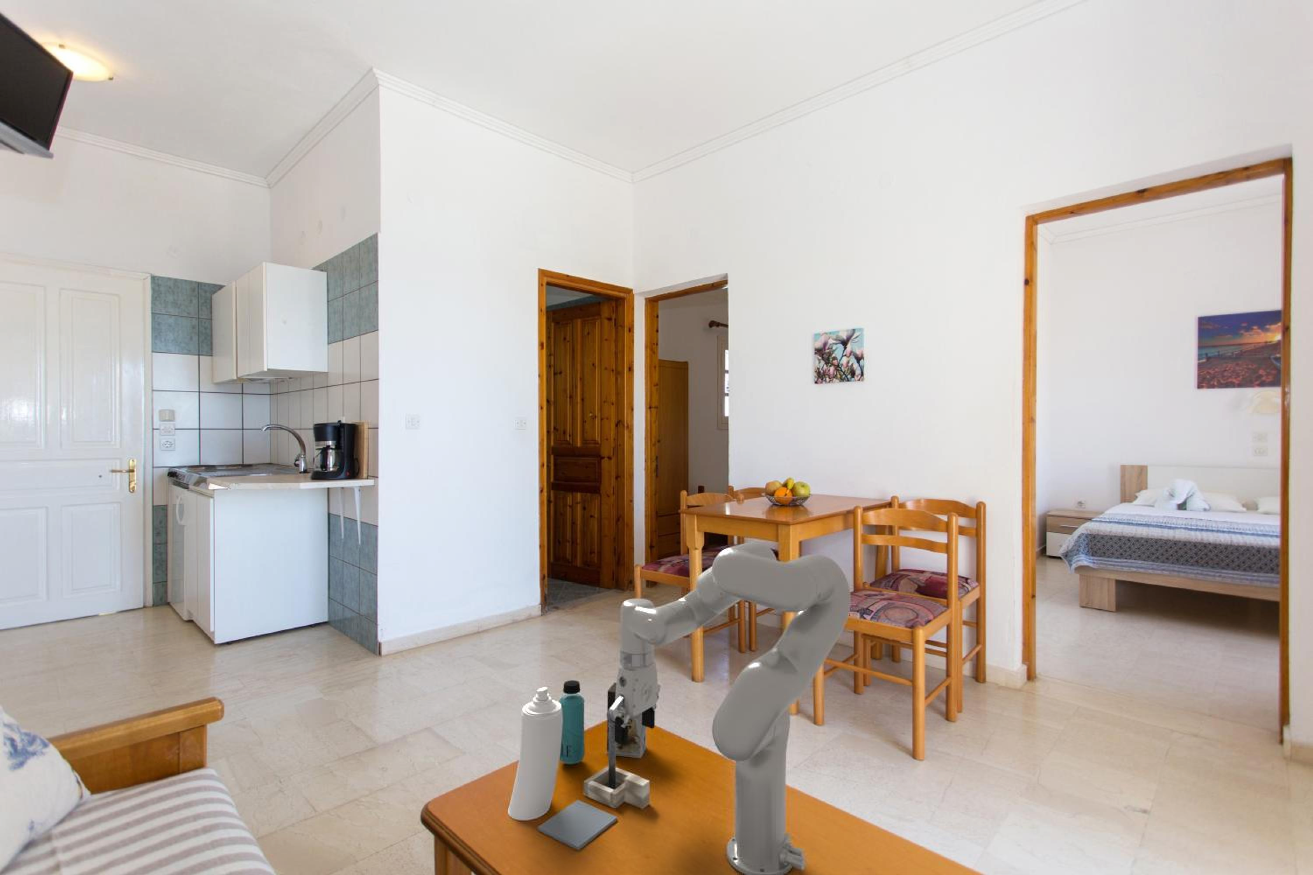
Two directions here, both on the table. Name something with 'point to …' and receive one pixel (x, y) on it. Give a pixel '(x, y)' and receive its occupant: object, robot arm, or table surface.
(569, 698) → the beverage bottle
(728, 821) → the table surface
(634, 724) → the coffee box
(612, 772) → the stand
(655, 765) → the table surface
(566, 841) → the mat
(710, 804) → the table surface
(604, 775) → the cream square frame
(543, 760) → the spray can
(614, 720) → the robot arm
